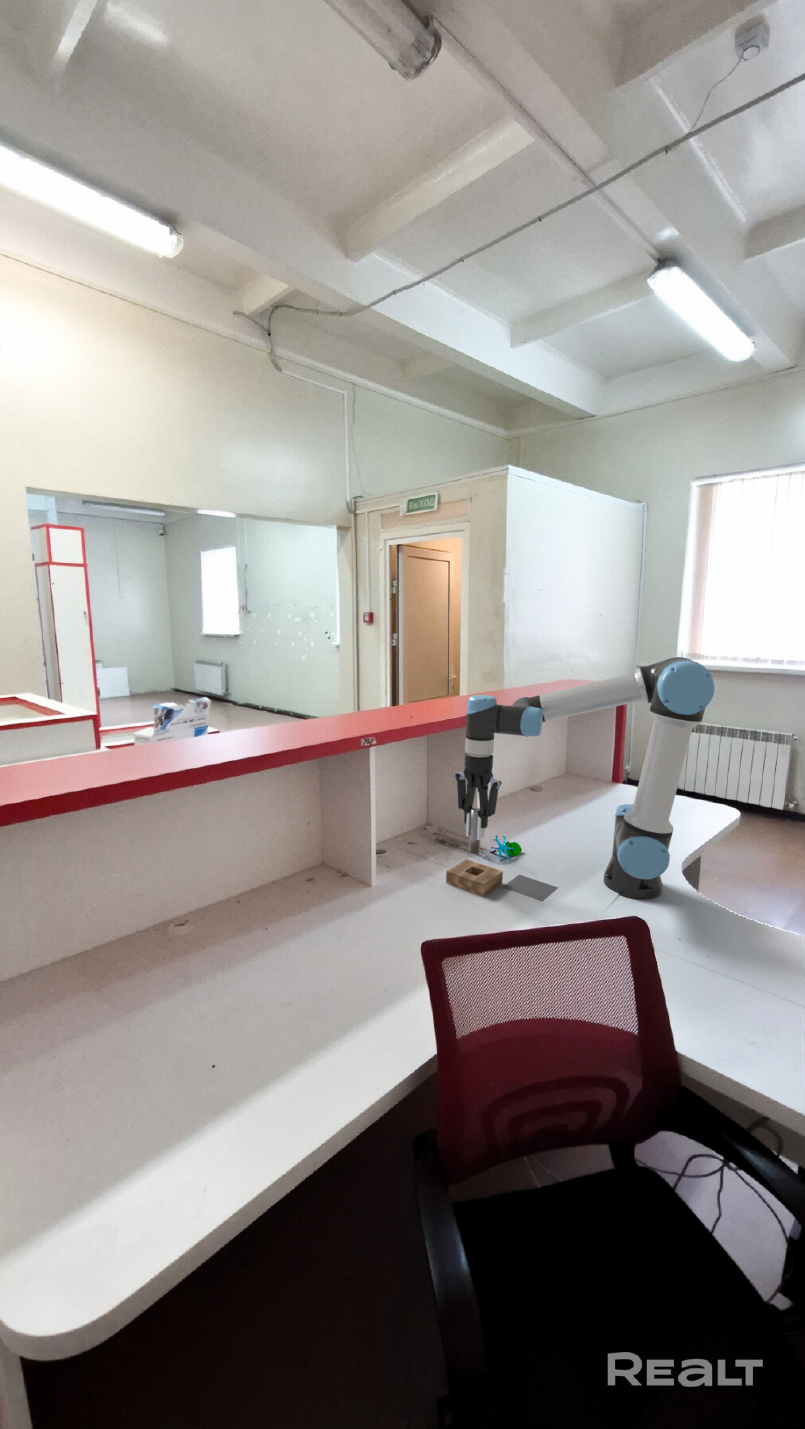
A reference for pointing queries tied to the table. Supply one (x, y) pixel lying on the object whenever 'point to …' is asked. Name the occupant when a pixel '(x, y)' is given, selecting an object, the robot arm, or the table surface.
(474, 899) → the table surface
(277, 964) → the table surface
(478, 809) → the pin
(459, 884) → the wooden block with hole
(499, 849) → the stick construction toy
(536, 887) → the mat
